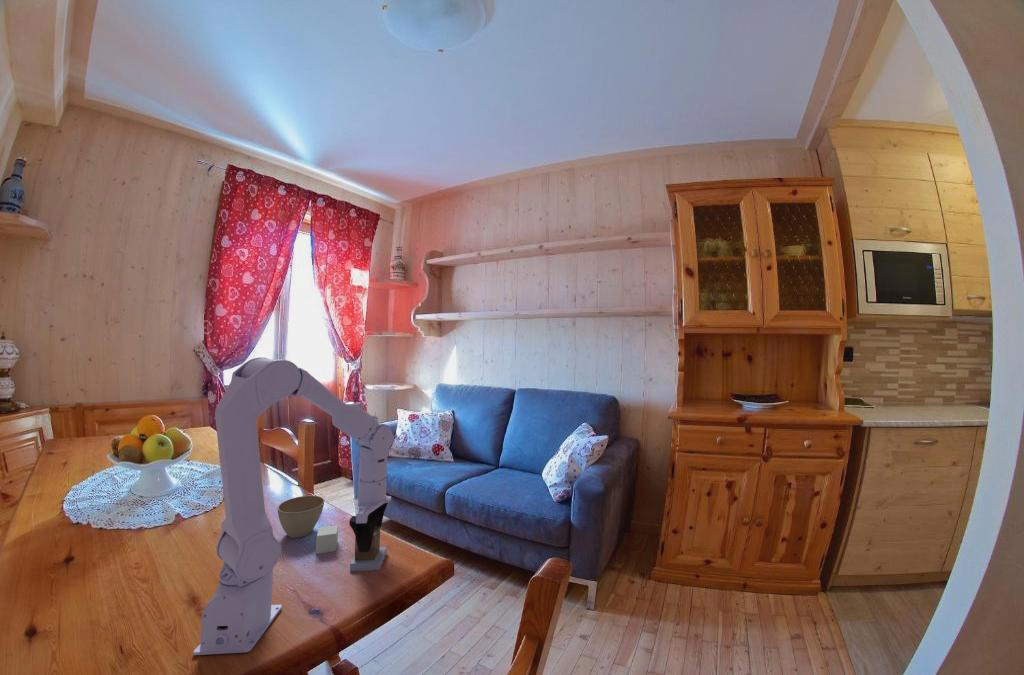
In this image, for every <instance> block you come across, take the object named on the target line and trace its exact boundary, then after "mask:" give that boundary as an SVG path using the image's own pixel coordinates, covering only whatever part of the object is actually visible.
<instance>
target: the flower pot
mask: <svg viewBox="0 0 1024 675" xmlns="http://www.w3.org/2000/svg"><path fill="white" fill-rule="evenodd" d="M324 506H325V498H324V497H321V496H319V495H302V496H297V497H292V498H289V499H287V500H284V501H282V502H281V503H279V505H278V506H277V515H278V519H279V520H278V521H279V523H280V525H281V527H282V529H283V531H284V532H285V534H286V535H287V537H289V538H291V539H299V538H302V537H306V536H308V535H310V534H311V532H312V531H313V529H314V528H315V527H316V525H317V523H318V521H319V520H320V517H321V515H322V512H323V509H324Z"/></svg>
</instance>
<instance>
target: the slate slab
mask: <svg viewBox="0 0 1024 675" xmlns="http://www.w3.org/2000/svg"><path fill="white" fill-rule="evenodd" d="M385 555H387V546H380V549H379V551H378V553H377V555H376V557H375V559H374V560H355V555H354V556H353V558H352V560H351V561H350V563H349V572H359V571H360V572H363V571H364V572H365V571H381V568H382V566H381V565H383V563H384V561H383V560H385V558H386V556H385Z"/></svg>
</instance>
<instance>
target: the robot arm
mask: <svg viewBox="0 0 1024 675" xmlns="http://www.w3.org/2000/svg"><path fill="white" fill-rule="evenodd" d="M231 374H232V375H231V380H230V382H229V385H228V386H227V388H226V389H225V391H224V393H223V395H222V396H221V398H220V400H219V403H218V404H217V406H216V408H215V410H214V411H215V412H214V417H215V426H216V427H215V428H216V437H217V445H218V446H217V447H218V456H219V464H220V466H219V467H220V474H221V476H220V477H221V484H222V495H223V504H224V512H225V513H224V515H225V518H224V520H222V521H221V523H220V526H221V527H220V528H221V530H220V531H221V533H220V535H219V539H218V541H217V543H216V547H215V548H216V549H215V551H216V555H217V557H218V558H219V559H221V560H222V561H223V564H222V567H221V569H220V571H219V572H220V573H219V578H218V584H217V587H216V591H215V592H214V594H213V596H212V597H211V598H210V600H209V601H208V602H207V603H206V605H205V606H204V608H203V611H202V615H201V627H200V628H201V630H200V643H199V645H198V646H197V647H196V648H195V649H194V650H193V656H205V655H221V654H222V655H223V654H238V653H239V654H243V653H249V652H251V651H252V649H253V648H254V647H255V646H256V644H257V643H258V642H259V640H260V638H261V637H262V636H263V635H264V634H265V631H267V629H268V628H269V626H270V625H271V624H272V622H273V620H274V619H276V617H277V615H278V614H279V613H280V611H282V608H283V604H273V603H272V602H273V600H272V599H273V584H274V583H273V582H274V567H275V566H276V565H277V563H278V562H279V560H280V557H281V554H282V547H281V546H282V545H281V542H280V541H279V540H278V539H277V538H276V537H275V535H274V532H273V529H274V528H273V525H272V523H271V521H270V518H269V517H268V515H267V512H266V506H265V497H264V486H263V476H262V466H261V456H260V446H259V436H258V435H259V434H258V425H257V419H258V418H259V417H260V416H261V415H262V414H263V413H264V412H265V411H266V410H267V409H268V408H269V407H271V406H272V405H274V404H275V403H276V404H277V403H278V402H280V401H282V400H283V399H286V398H287V397H288V396H291V395H292V396H295V397H301V398H303V399H305V400H306V401H308V402H309V403H311V404H313V405H314V406H316V407H318V408H319V409H320V410H322V411H323V412H325V413H327V414H328V415H330V416H331V422H332V425H333V427H335V428H336V429H338V430H340V431H341V432H342V433H344V434H346V435H347V436H348V437H350V438H351V439H353V440H354V443H355V444H356V445H357V446H359V460H358V461H359V463H358V465H359V466H358V484H357V498H356V502H355V503H356V514H355V515H351V517H350V518H349V524H348V525H349V526H350V528H351V529H352V532H353V533H354V537H356V541H357V546H358V550H359V552H369V551H370V548H371V545H372V540H373V535H374V530H375V527H376V526H380V529H382V524H383V520H384V515H385V512H386V509H387V506H388V504H389V503H391V500H392V496H391V495H387V479H388V478H387V476H388V457H389V456H388V455H390V448H391V446H392V445H393V443H394V440H395V434H393V430H392V427H390V425H388V424H386V423H381V422H379V417H378V416H376V415H372V414H370V413H369V412H367V410H365V409H364V407H365V406H364V404H362V403H361V402H354V401H346V402H344V401H343V400H342V399H340V397H338V396H337V395H336V394H335V393H333V392H332V391H331V390H330V389H328V387H326V386H325V385H323V384H322V383H321V382H320V381H319V380H318V379H316V378H315V377H314V376H313V375H311V373H309V371H307V370H305V369H303V368H301V367H298V366H297V365H296V364H295V363H294V362H293V361H290V360H288V359H271V358H267V357H254V358H251V359H249V360H247V361H246V362H244V363H243V364H242V365H240V366H239V367H238V368H237V369H236V370H234V371H233V372H232V373H231Z"/></svg>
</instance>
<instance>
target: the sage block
mask: <svg viewBox="0 0 1024 675" xmlns="http://www.w3.org/2000/svg"><path fill="white" fill-rule="evenodd" d="M338 537H339V524H337V525H336V524H335V525H328V526H321V527H319V528H318V531H317V534H316V541H315V554H316V555H318V554H320V555H321V554H325V553H326V554H327V553H332V552H335V551H337V547H338V546H337V545H338V541H339V540H338V539H339V538H338Z"/></svg>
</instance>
